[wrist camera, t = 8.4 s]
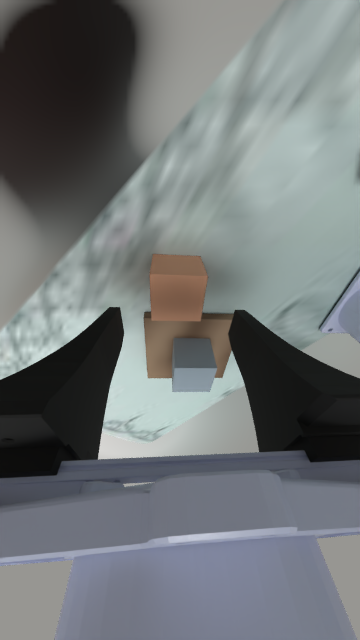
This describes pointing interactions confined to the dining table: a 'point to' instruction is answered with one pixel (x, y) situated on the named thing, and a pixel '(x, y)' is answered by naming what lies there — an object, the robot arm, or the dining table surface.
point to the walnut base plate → (164, 332)
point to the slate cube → (192, 365)
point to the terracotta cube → (177, 287)
